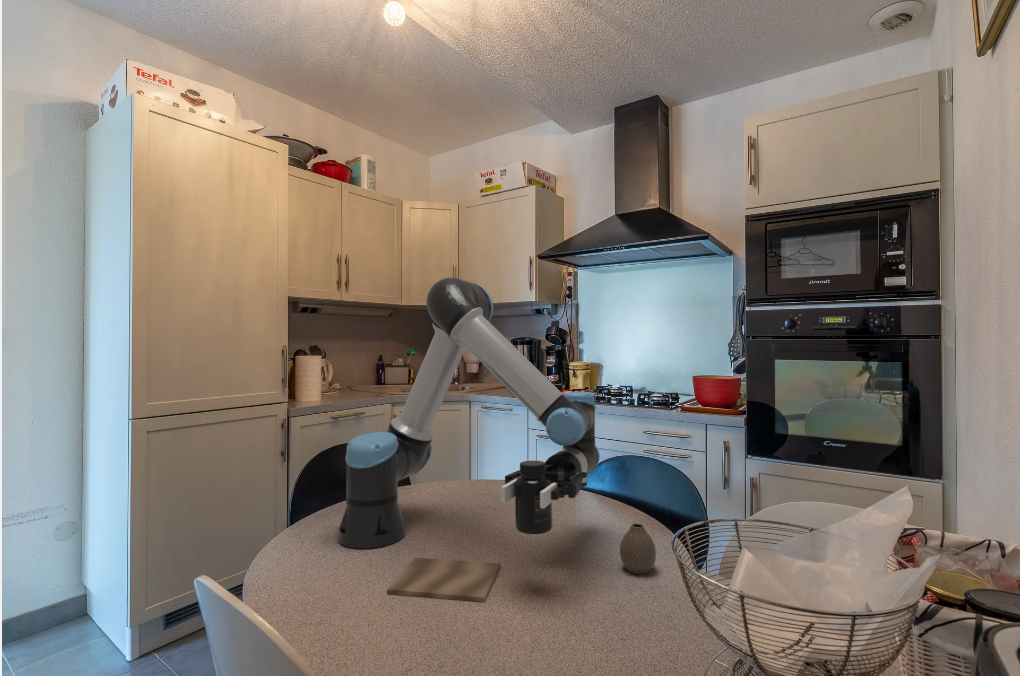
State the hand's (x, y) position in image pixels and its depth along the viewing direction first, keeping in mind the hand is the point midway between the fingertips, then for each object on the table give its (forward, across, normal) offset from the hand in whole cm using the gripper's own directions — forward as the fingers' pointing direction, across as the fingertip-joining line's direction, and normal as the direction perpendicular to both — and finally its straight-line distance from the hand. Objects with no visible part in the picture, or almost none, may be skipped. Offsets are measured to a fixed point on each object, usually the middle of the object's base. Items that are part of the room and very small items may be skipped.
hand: (522, 497), depth 89 cm
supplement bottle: (-5, 0, -7) cm, 9 cm away
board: (-1, +16, -18) cm, 24 cm away
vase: (-21, -16, -18) cm, 32 cm away
